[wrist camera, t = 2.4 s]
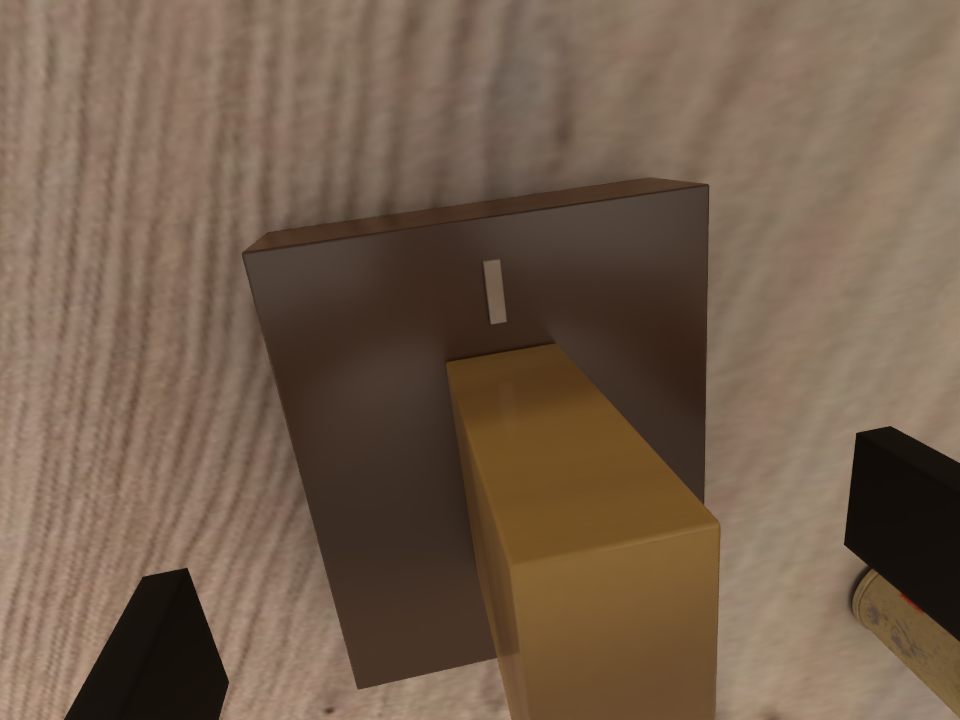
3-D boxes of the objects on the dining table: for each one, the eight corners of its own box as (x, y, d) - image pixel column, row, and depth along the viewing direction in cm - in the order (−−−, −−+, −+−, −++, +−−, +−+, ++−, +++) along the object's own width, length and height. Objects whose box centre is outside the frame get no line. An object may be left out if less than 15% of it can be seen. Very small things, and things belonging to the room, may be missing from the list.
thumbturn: (444, 361, 13) (513, 582, 7) (557, 342, 14) (734, 535, 7) (477, 575, 15) (555, 908, 9) (574, 554, 16) (722, 861, 9)
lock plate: (266, 232, 15) (238, 253, 12) (651, 177, 16) (714, 184, 13) (360, 610, 19) (357, 696, 16) (657, 546, 20) (706, 615, 17)
